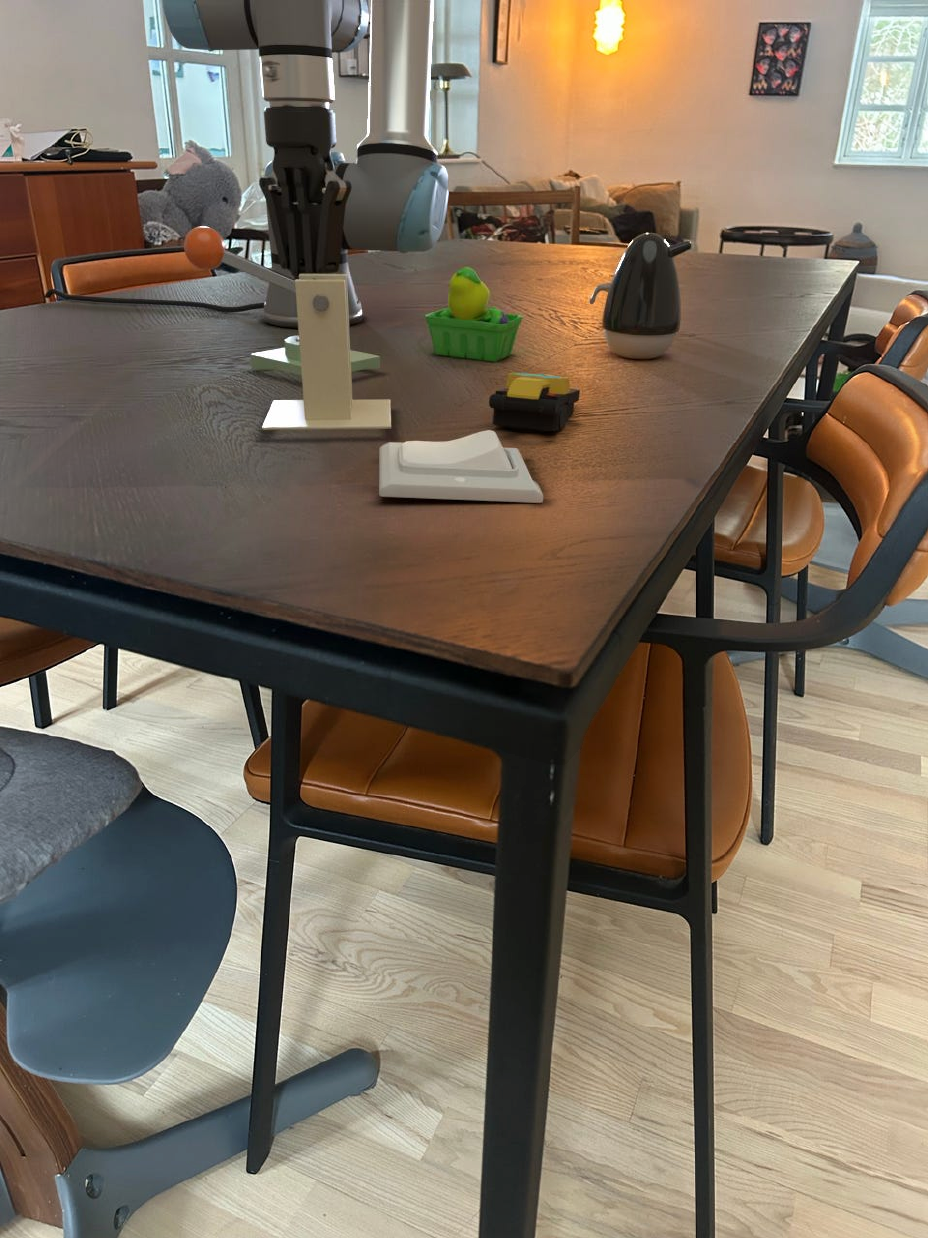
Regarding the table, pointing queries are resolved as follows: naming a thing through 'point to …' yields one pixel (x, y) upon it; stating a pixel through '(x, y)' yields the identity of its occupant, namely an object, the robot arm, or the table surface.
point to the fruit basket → (472, 322)
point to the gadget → (534, 402)
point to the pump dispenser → (644, 299)
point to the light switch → (456, 470)
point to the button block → (291, 360)
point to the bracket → (325, 364)
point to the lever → (227, 257)
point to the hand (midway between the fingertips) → (313, 335)
